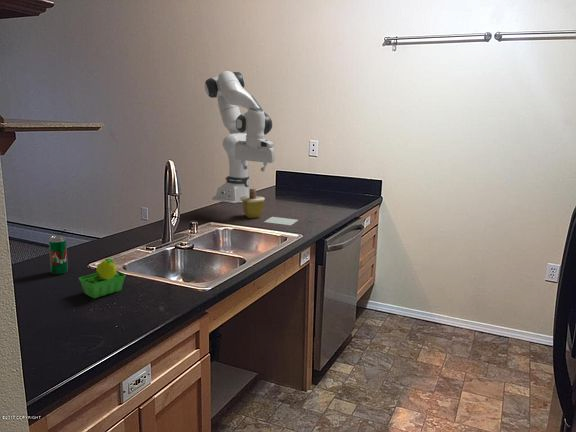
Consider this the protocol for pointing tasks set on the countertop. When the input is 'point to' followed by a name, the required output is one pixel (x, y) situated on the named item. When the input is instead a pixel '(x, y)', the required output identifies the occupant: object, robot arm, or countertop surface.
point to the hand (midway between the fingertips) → (253, 170)
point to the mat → (281, 221)
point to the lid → (252, 197)
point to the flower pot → (253, 209)
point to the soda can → (58, 255)
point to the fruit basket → (103, 280)
